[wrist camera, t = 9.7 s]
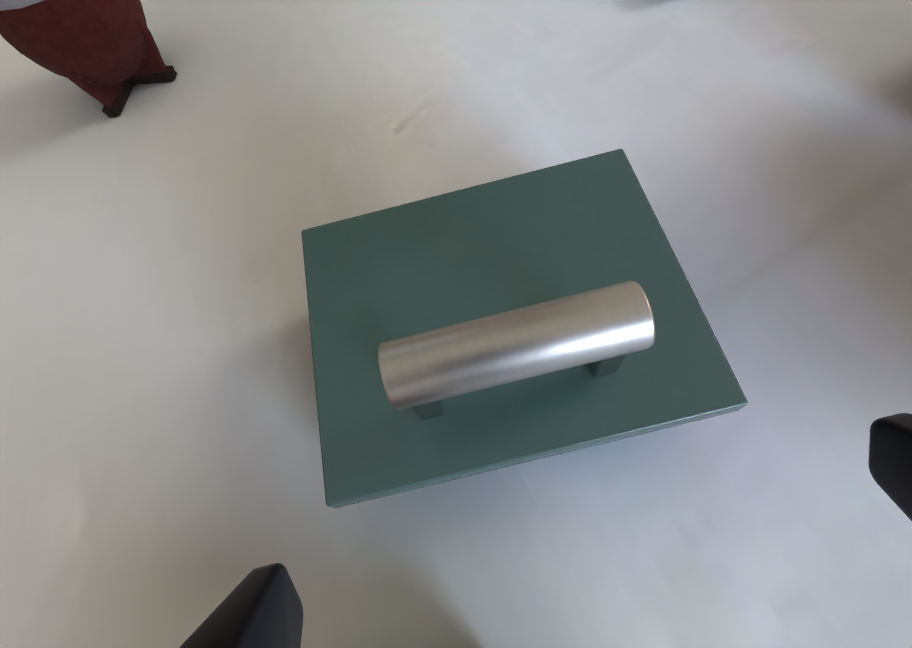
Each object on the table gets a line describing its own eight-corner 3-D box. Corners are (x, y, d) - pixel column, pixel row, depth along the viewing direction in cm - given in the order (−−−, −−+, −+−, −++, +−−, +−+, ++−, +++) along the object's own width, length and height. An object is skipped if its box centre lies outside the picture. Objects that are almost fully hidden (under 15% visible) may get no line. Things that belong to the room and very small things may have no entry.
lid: (739, 410, 14) (829, 349, 10) (334, 508, 14) (256, 489, 10) (619, 162, 18) (647, 45, 14) (308, 241, 18) (245, 150, 14)
